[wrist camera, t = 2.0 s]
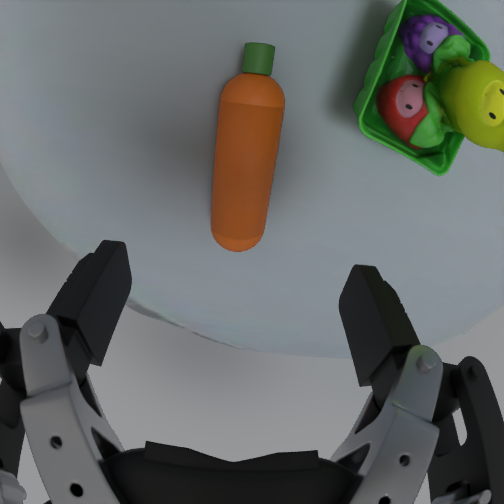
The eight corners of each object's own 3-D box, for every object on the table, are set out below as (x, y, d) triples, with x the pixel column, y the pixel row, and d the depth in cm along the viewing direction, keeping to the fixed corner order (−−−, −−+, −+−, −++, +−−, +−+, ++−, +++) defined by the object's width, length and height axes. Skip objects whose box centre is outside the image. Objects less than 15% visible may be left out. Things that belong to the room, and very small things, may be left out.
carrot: (229, 45, 14) (224, 37, 11) (289, 52, 15) (298, 46, 11) (212, 230, 23) (206, 260, 20) (260, 235, 23) (261, 265, 20)
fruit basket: (377, -5, 11) (475, -41, 2) (462, 55, 13) (566, 79, 3) (329, 116, 17) (409, 168, 8) (419, 162, 19) (508, 237, 10)
